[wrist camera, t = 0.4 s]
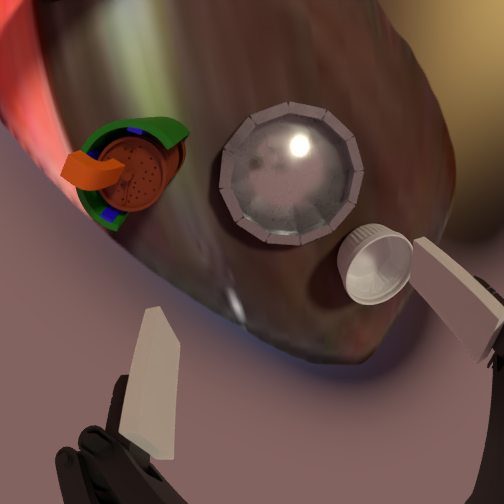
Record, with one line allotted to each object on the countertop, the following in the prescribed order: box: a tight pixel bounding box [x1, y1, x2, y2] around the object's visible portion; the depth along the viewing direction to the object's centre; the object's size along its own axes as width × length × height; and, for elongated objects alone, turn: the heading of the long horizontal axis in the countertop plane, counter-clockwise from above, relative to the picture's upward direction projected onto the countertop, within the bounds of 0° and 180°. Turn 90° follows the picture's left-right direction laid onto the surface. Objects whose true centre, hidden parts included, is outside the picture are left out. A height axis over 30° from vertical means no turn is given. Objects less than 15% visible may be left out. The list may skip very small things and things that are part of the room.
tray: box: [219, 102, 364, 245], centre depth 37 cm, size 20×20×3 cm
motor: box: [60, 117, 190, 231], centre depth 26 cm, size 10×9×20 cm
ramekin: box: [337, 224, 413, 305], centre depth 43 cm, size 13×13×7 cm
